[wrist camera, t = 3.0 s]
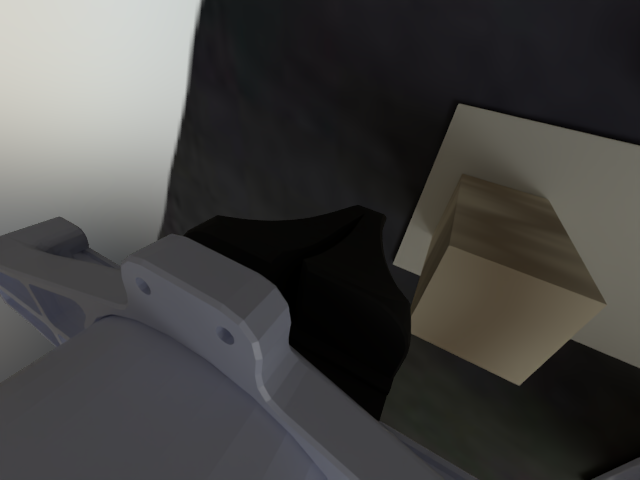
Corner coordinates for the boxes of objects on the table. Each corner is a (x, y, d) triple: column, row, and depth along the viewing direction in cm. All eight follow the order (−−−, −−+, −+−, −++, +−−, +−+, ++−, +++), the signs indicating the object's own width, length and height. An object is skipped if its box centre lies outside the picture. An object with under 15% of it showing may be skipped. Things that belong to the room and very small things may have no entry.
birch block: (547, 199, 13) (607, 304, 7) (503, 262, 16) (519, 385, 9) (462, 173, 15) (449, 244, 8) (432, 236, 17) (404, 329, 11)
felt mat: (922, 211, 9) (934, 214, 9) (663, 374, 15) (666, 379, 15) (458, 103, 14) (458, 103, 13) (393, 261, 19) (392, 264, 19)
